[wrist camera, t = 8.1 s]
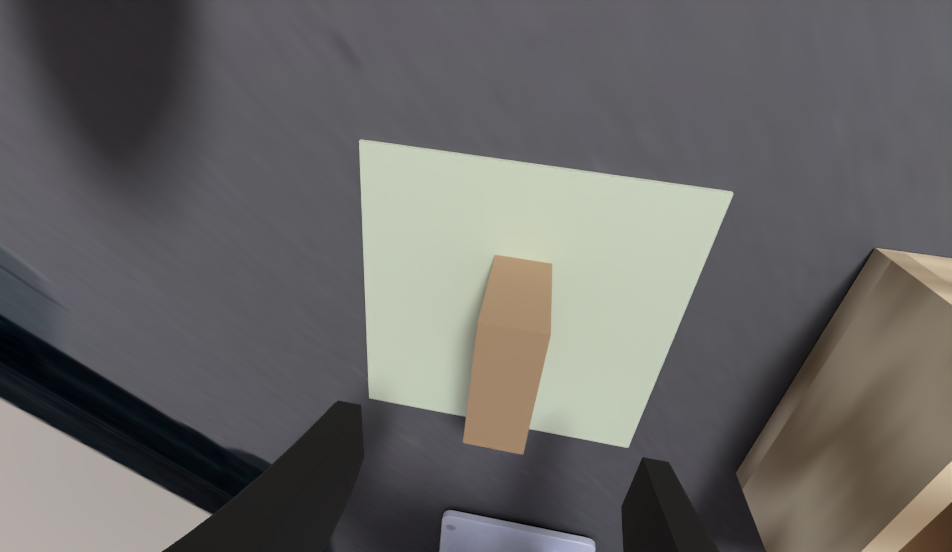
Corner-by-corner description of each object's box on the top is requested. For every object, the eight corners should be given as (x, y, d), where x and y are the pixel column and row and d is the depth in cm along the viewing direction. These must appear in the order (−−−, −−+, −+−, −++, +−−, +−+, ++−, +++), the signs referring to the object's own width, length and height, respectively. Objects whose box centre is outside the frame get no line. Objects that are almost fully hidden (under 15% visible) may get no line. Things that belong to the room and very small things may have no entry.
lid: (625, 433, 20) (643, 540, 16) (375, 385, 21) (331, 475, 17) (725, 184, 14) (793, 255, 10) (367, 134, 15) (297, 180, 11)
